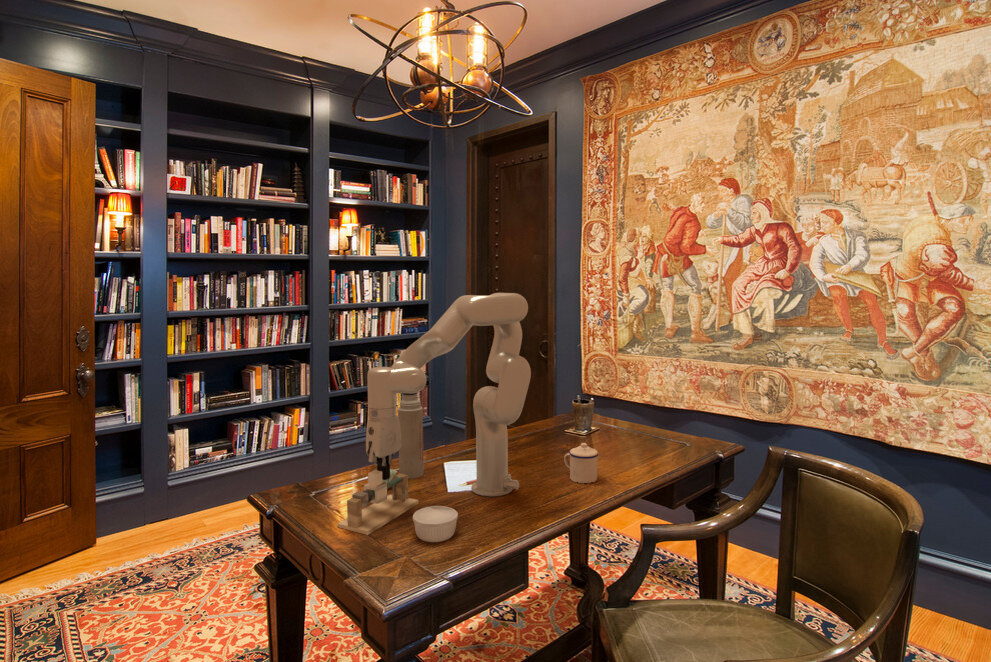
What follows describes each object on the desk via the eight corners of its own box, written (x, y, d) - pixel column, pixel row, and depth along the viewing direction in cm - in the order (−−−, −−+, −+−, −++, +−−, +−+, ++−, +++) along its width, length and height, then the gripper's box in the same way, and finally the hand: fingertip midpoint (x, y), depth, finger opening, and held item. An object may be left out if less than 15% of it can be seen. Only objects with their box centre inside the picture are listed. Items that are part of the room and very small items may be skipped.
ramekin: (462, 526, 142) (462, 506, 141) (452, 546, 131) (451, 525, 130) (420, 523, 144) (420, 504, 143) (407, 543, 133) (406, 522, 132)
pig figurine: (377, 494, 164) (377, 472, 163) (369, 490, 167) (369, 468, 166) (399, 486, 170) (398, 465, 169) (391, 483, 172) (391, 462, 172)
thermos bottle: (426, 471, 184) (425, 388, 181) (418, 479, 176) (417, 393, 173) (404, 469, 185) (402, 388, 183) (395, 477, 177) (393, 392, 175)
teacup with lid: (603, 478, 175) (603, 443, 174) (587, 486, 169) (587, 449, 168) (572, 470, 184) (573, 436, 183) (556, 477, 177) (556, 442, 176)
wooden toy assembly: (390, 497, 161) (389, 469, 160) (418, 503, 156) (417, 474, 156) (337, 527, 141) (336, 495, 141) (367, 535, 137) (366, 501, 136)
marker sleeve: (373, 495, 150) (373, 468, 149) (387, 498, 148) (386, 471, 147) (364, 500, 146) (363, 473, 146) (377, 503, 144) (377, 475, 144)
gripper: (375, 420, 140) (376, 489, 142) (410, 408, 153) (411, 472, 155) (352, 417, 144) (354, 485, 145) (388, 406, 157) (389, 468, 158)
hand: (383, 478), depth 150 cm, fingers closed
